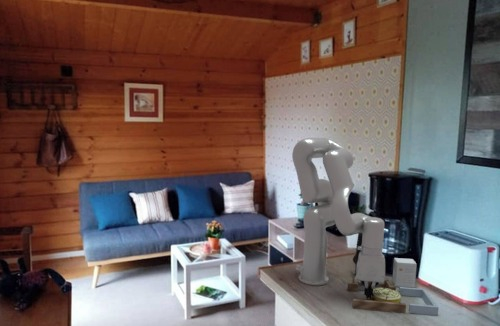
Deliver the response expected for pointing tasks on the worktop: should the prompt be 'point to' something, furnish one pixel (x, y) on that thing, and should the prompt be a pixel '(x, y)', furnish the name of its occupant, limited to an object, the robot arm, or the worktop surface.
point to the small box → (404, 272)
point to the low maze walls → (376, 304)
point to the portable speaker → (359, 243)
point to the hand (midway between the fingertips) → (368, 297)
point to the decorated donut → (386, 295)
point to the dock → (417, 308)
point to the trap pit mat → (361, 288)
